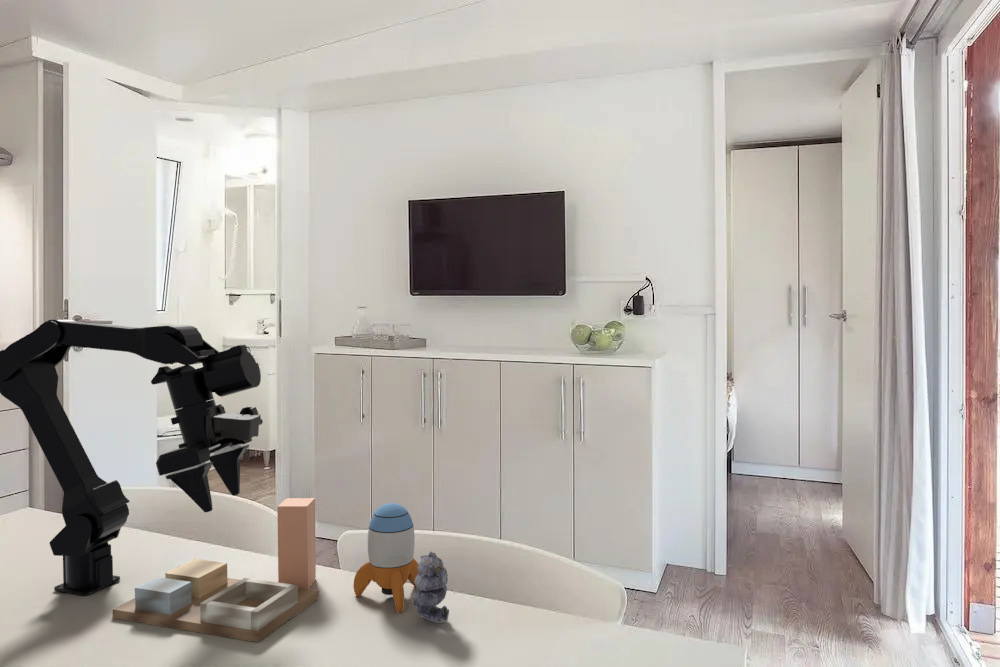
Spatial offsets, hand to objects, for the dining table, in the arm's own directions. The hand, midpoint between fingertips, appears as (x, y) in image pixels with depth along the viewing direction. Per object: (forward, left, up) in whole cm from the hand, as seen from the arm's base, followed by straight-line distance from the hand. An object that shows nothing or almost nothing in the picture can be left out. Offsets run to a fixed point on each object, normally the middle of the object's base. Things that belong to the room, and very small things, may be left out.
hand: (223, 502), depth 104 cm
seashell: (+35, -1, -14) cm, 37 cm away
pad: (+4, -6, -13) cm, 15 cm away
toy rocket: (+25, +5, -14) cm, 29 cm away
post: (+10, +5, -13) cm, 17 cm away
